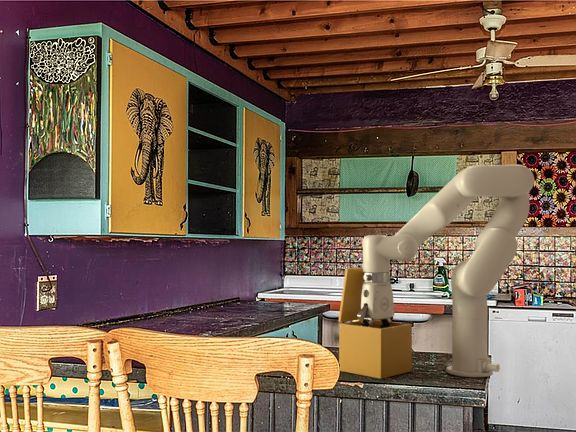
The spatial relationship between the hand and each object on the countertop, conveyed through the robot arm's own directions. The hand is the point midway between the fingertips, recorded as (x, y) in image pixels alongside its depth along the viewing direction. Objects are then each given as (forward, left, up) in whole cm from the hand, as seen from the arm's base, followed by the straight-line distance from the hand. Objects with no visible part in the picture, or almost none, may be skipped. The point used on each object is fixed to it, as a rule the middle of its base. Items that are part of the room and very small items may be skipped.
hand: (376, 340), depth 193 cm
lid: (+6, 0, +13) cm, 14 cm away
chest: (0, 0, -9) cm, 9 cm away
